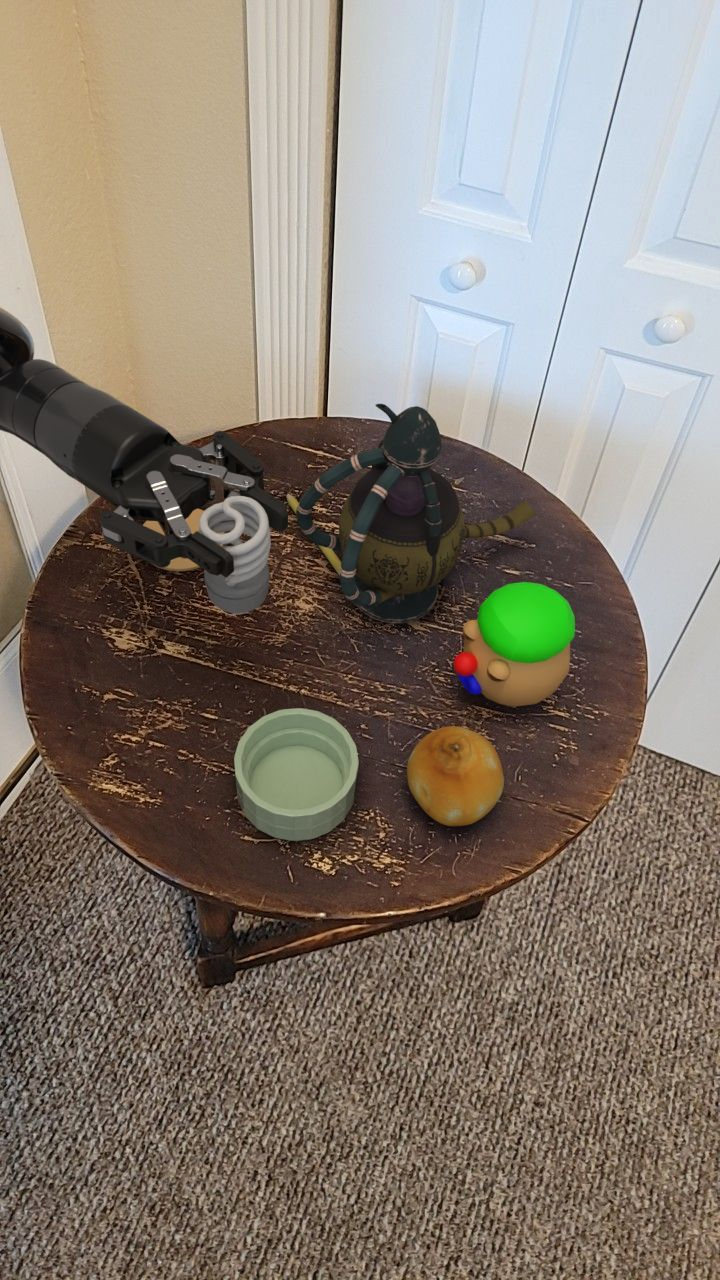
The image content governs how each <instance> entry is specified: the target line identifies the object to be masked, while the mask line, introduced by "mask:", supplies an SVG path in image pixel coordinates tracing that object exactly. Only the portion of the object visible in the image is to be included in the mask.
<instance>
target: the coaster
mask: <svg viewBox="0 0 720 1280" xmlns="http://www.w3.org/2000/svg"><path fill="white" fill-rule="evenodd" d="M204 511H205V510H204V509H200V508H198V509H195V510H194V511H193V512H192V513H191V514H190V516H189V517H188V518H186V519H185V521H186V522H187V524H188V526H189V528H190V530H191V533H192V534H193V533H195V532H196V531H199V519H200V517H201V515H202V513H203V512H204ZM219 523H221V522H219ZM142 525H143V526H145V527H148V528H150V529H152V530H154V531H156V532H158V533H161V534H163V535H165V534H164V532H163V530H162V528H161V527H160V525H159V523H158V521H146V520H145V522H144V523H143V524H142ZM222 533H225V532H221V533H218V534H222ZM220 545H221V546H225V544H220ZM151 565H152V566H154V567H156V568H159V569H162V570H164V571H169V572H188V571H193V570H196V569H197V570H198V569H200V568H201V567H200V566H198V565H197V564H195V563H194V562H192V561H191V560H189V559H188V558H186V559H184V558H180V557H178V558H175V559H173V560H171V562H170V564H169V565H168V566H167V567H163V568H162V567H158V566H156V565H153V564H151Z"/></svg>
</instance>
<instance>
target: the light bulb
mask: <svg viewBox="0 0 720 1280" xmlns="http://www.w3.org/2000/svg"><path fill="white" fill-rule="evenodd" d="M219 522H220V523H219ZM198 532H199V533H201V534H202V535H204V536H205V537H207V538H208V539H210V540H211V541H213V542H214V543H216V544H217V545H219V546H220V547H222V548H223V549H225V550H226V551H228V552H229V553H230V554H231V555H232V557H233V560H234V572H233V573H232V574H230V575H229V576H228V577H224V576H222V575H221V574H219V575H218V576H216V575H212V574H210V573H209V572H207V571H206V570H204V571H203V573H204V575H203V576H204V578H203V580H204V584H205V588H206V592H207V595H208V598H209V600H210V601H211V603H212V604H213V606H215V607H217V609H219V610H221V611H223V612H226V613H229V614H234V615H244V614H247V613H249V612H252V611H253V610H255V609H257V608H259V607H260V606H261V605H262V604H263V603H264V602H265V600H266V598H267V596H268V594H269V588H270V580H271V574H270V573H271V572H270V568H269V564H268V561H269V557H270V552H271V551H270V550H271V545H272V541H271V539H272V538H271V527H270V526H269V521H268V516H267V514H266V512H265V510H264V509H263V507H262V506H261V505H260V504H259V503H258V502H257V501H255V500H254V499H252V498H249V497H244V496H231V497H229V498H227V499H225V501H224V502H222V503H218V504H214V505H210V506H209V507H206V509H205V510H204V512H203V513H202V515H201V517H200V519H199V531H198ZM221 532H224V533H222V534H218V533H221ZM242 534H245V535H247V536H248V537H250V538H249V540H247V541H245V542H243V540H242V539H241V538H240V537H241V536H242ZM220 544H224V545H223V546H221V545H220ZM228 544H231V545H228Z"/></svg>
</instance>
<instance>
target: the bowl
mask: <svg viewBox="0 0 720 1280" xmlns="http://www.w3.org/2000/svg"><path fill="white" fill-rule="evenodd" d="M359 761H360V760H359V755H358V750H357V745H356V742H355V741H354V740H353V738H352V736H351V734H350V732H349V731H348V730H347V728H345V727H344V726H343V725H342V724H341V723H340V722H339V721H338V720H336V719H335V718H334V717H332V716H330V715H327V714H326V713H323V712H321V711H318V710H314V709H309V708H302V707H296V708H285V709H284V708H283V709H278V710H276V711H274V712H271V713H269V714H265V715H263V716H262V717H260V718H259V719H257V720H256V721H255V722H254V723H252V724H251V725H250V726H249V727H248V728H247V729H246V731H245V732H244V733H243V735H242V736H241V738H240V739H239V741H238V743H237V747H236V750H235V753H234V757H233V762H234V763H233V765H234V775H235V786H236V797H237V802H238V804H239V806H240V808H241V810H242V813H243V815H244V817H245V818H246V819H247V820H248V821H249V822H250V823H251V824H252V826H254V827H255V828H256V829H257V830H259V831H261V832H263V833H265V834H266V835H269V836H271V837H273V838H275V839H280V840H286V841H290V842H296V841H298V842H299V841H307V840H312V839H313V840H314V839H316V838H318V837H321V836H323V835H325V834H328V833H329V832H332V831H333V830H334V829H335V828H336V827H337V826H339V825H340V824H341V823H342V822H343V821H344V820H345V819H346V817H347V815H348V814H349V812H350V811H351V809H352V807H353V805H354V802H355V796H356V793H357V792H356V791H357V784H358V774H359V767H360V766H359V765H360V762H359Z"/></svg>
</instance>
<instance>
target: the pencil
mask: <svg viewBox="0 0 720 1280" xmlns="http://www.w3.org/2000/svg"><path fill="white" fill-rule="evenodd" d="M284 493H285V498H286V501H287V504H288V506H289V507H290V508H291V509H292V511H293V512H294V514H295V515H296V510H297V507H298V504H299V501H298V500H297V498H296V497H295V496H293V495H292V494H290V493H289V492H287V491H284ZM317 547H318V548H319V549H320V550H321V552H322V553H323V555H324V556H325V557H326V559H327V560H328V562H330V564H331V566H332V567H333V569H334V570H335V571H336V573H337V575H338V576H339V577H340V569H341V561H342V560H340V558H339V557H338V556H337V554H336V553H335V550H333V549H330V548H326V547H323V546H319V545H317Z"/></svg>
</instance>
